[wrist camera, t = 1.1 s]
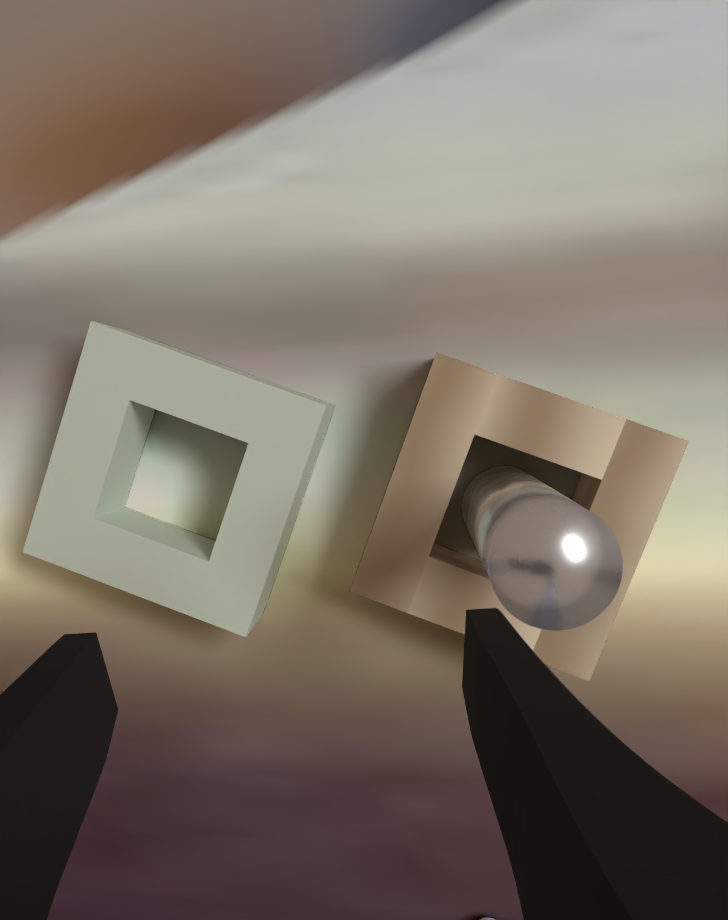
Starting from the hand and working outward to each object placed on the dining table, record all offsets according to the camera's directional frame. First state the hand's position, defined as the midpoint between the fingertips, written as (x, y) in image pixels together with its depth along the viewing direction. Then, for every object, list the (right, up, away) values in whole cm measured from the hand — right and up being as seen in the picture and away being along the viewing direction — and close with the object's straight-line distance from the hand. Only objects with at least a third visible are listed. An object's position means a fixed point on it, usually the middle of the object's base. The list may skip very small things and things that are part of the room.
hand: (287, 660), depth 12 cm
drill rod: (+7, +2, +12) cm, 14 cm away
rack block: (-5, +3, +13) cm, 14 cm away
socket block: (+7, +2, +12) cm, 14 cm away
